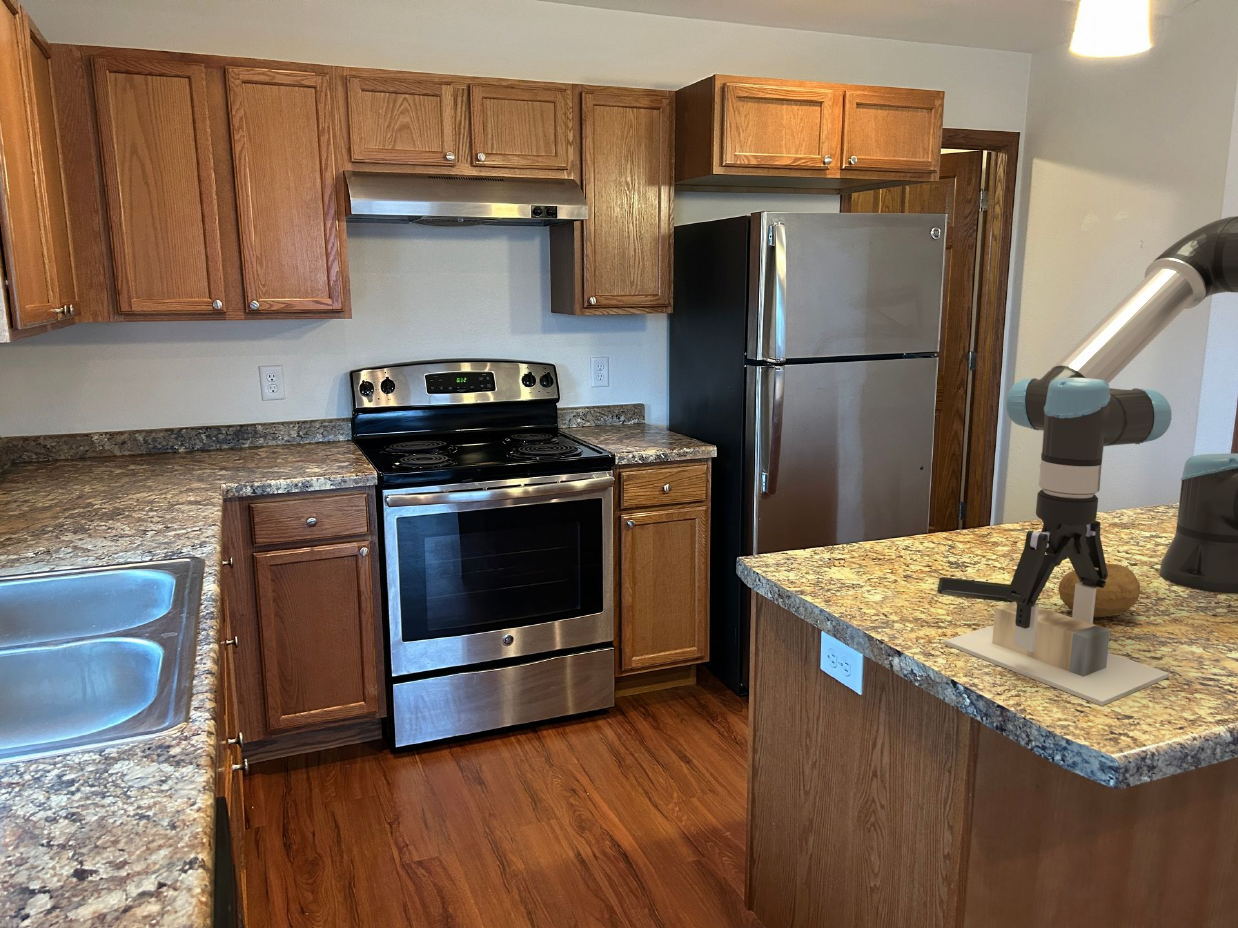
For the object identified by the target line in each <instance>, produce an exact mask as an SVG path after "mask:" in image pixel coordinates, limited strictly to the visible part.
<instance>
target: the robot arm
mask: <svg viewBox="0 0 1238 928" xmlns="http://www.w3.org/2000/svg"><path fill="white" fill-rule="evenodd" d="M1221 293H1238V216H1237V215H1235V216H1228V217H1225V218H1221V219H1218V220H1215V221H1211V222H1209V223H1207V224H1205V225H1202V226H1201V227H1199V228H1197V229H1196V230H1194V231H1192V232H1190V233H1188V234H1186V235H1185V236H1184V237H1182V238H1181V239H1179V240H1178V241H1176V242H1175V243H1173V244H1172V245H1170V246H1169V247H1168V248H1167V249H1165V250H1164V251H1163V252H1162V253H1161V254H1160V255H1158V256H1157V257H1156V258H1155V259H1154V260H1153V261H1152V262H1151V263H1150V264H1149V265H1148V266H1147V268H1146V269H1145V272H1144V279H1142V281H1140V283H1139V284H1138V285H1136V286H1135V287H1134V288H1133V289H1132V290H1131V291H1130V292H1129V293H1128V294H1127V295H1126V296H1125V297H1124V298H1123V299H1122V300H1121V301H1120V302H1119V303H1118V304H1117V305H1115V307H1114V308H1113V309H1112V310H1110V311H1109V313H1108V314H1106V315H1104V318H1102V319H1101V320H1100V321H1099V322H1098V323H1097V324H1096V325H1095V326H1094V327H1093V328H1091V330H1089V332H1088V333H1087V334H1085V335H1084V336H1083V337H1082V338H1081V340H1079V341H1078V342H1077V343H1076V345H1074V346H1073V347H1072V348H1071V349H1070V350H1069V351H1068V352H1067V353H1066V354H1065V355H1064V356H1062V358H1061V359H1060V360H1059V361H1057V362H1056V364H1055V365H1053V367H1051V368H1050V370H1048V371H1047V372H1046V373H1045V374H1044V375H1043V376H1042V377H1041V378H1039V379H1038V378H1034V377H1032V378H1024V379H1021V380H1018V381H1016V382H1015V383H1014V384H1013V385H1012V387H1010V389H1009V391H1008V394H1007V395H1006V396H1007V397H1006V403H1005V408H1006V409H1005V410H1006V413H1007V414H1008V415H1007V416H1008V417H1009V419H1010V420H1011V422H1013V423H1014V424H1015V425H1018V426H1020V427H1023V428H1027V429H1031V430H1034V431H1041V432H1043V435H1042V448H1041V453H1040V454H1041V455H1040V456H1041V457H1040V458H1041V460H1040V464H1039V476H1038V477H1039V479H1038V486H1039V487H1040V489H1041V490H1039V491H1038V492H1037V496H1036V508H1035V514H1036V516H1037V518H1038V519H1040V520H1041V522H1042V523H1043V525H1042V528H1041V531H1039V532H1038V531H1035V530H1030V529H1029V530H1028V531H1027V532H1026V536H1025V541H1024V542H1025V543H1024V547H1023V550H1022V553H1021V555H1020V558H1019V561H1018V563H1017V566H1016V569H1015V572H1014V574H1013V577H1012V579H1011V583H1009V584H1010V587H1009V590H1008V592H1007V595H1006V598H1007V599H1008V600H1011V601H1014V602H1016V603H1017V610H1016V621H1015V623H1016V627H1015V638H1014V646H1016V647H1019V648H1021V649H1024V650H1027V651H1029V652H1034V651H1035V645H1036V634H1037V624H1038V613H1039V607H1040V605H1038V604H1036V602H1037V601H1038V599H1039V597H1040V596H1041V594H1042V591H1043V590H1044V589H1045V586H1046V584H1047V582H1048V581H1049V579H1050V577H1051V576H1052V573H1053V571H1054V570H1055V568H1056V567H1057V566H1058V567H1059V566H1060V565H1061V564H1062V562H1063V561H1065V560H1067V559H1069V561H1070V563H1071V565H1072V568H1073V571H1074V570H1075V572H1076V574H1077V576H1078V578H1079V580H1080V582H1082V584H1080V583H1077V584H1075V593H1074V603H1073V610H1072V613H1071V615H1072V616H1071V617H1072V618H1075V619H1078V620H1081V621H1084V622H1088V623H1091V624H1094V618H1093V616H1094V606H1095V597H1096V586H1097V587H1100V588H1104V586H1105V584H1106V582H1105V581H1104V580H1106V579H1107V577H1108V572H1107V567H1106V564H1107V563H1106V559H1105V553H1104V549H1103V544H1102V539H1101V522H1100V521H1098V520H1097V515H1098V505H1099V498H1098V497H1097V495H1096V494H1097V493H1098V492H1100V489H1101V477H1102V475H1101V474H1102V465H1103V464H1102V462H1103V457H1104V456H1103V455H1104V447H1109V446H1120V445H1121V446H1123V445H1132V444H1135V445H1140V444H1143V443H1147V442H1152V441H1155V440H1157V439H1159V438H1160V437H1162V436H1163V435H1165V433H1166V432H1167V431H1168V429H1169V428H1170V425H1171V423H1172V422H1171V421H1172V415H1173V414H1172V409H1171V407H1172V406H1171V405H1170V402H1169V401H1168V400H1167V398H1166V397H1165V396H1164V395H1163V394H1162V393H1160V392H1159V391H1157V390H1154V389H1149V388H1148V389H1146V388H1145V389H1144V388H1135V387H1134V388H1132V389H1123V388H1122V389H1121V388H1110V382H1112V381H1113V380H1114V379H1115V377H1117V376H1118V375H1119V374H1120V373H1121V372H1122V371H1123V370H1124V369H1125V368H1126V367H1127V366H1128V365H1129V364H1130V363H1131V362H1132V361H1133V360H1134V359H1135V358H1136V357H1138V355H1139V354H1140V353H1141V352H1142V351H1143V350H1144V349H1145V348H1146V347H1148V345H1150V344H1151V342H1153V340H1155V339H1156V338H1157V336H1159V334H1160V333H1161V332H1162V331H1164V329H1166V328H1167V327H1168V326H1169V324H1171V323H1172V321H1174V320H1175V319H1176V318H1177V317H1178V316H1179V315H1180V314H1181V313H1182V312H1183V311H1184V310H1187V309H1192V308H1195V307H1197V306H1198V305H1200V304H1201V302H1203V301H1204V300H1205V298H1208V297H1210V296H1212V295H1216V294H1221ZM1180 481H1181V482H1180V483H1181V486H1180V492H1179V503H1178V509H1177V511H1178V512H1177V521H1176V529H1175V535H1174V537H1173V539H1172V540H1171V543H1170V544H1169V546H1168V548H1167V550H1166V552H1165V554H1164V555H1163V557H1162V560H1161V562H1160V567H1159V576H1160V577H1161V578H1163V580H1165V581H1168V582H1170V583H1172V584H1174V585H1178V586H1181V587H1184V588H1188V589H1192V590H1197V591H1202V592H1207V593H1208V592H1209V593H1215V594H1216V593H1217V594H1228V595H1238V453H1232V452H1231V453H1205V454H1196V455H1193V456H1190V457H1188V458H1187V460H1186V461H1185V464H1184V467H1183V472H1182V477H1181V478H1180ZM1095 568H1098V570H1097V569H1095Z"/></svg>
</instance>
